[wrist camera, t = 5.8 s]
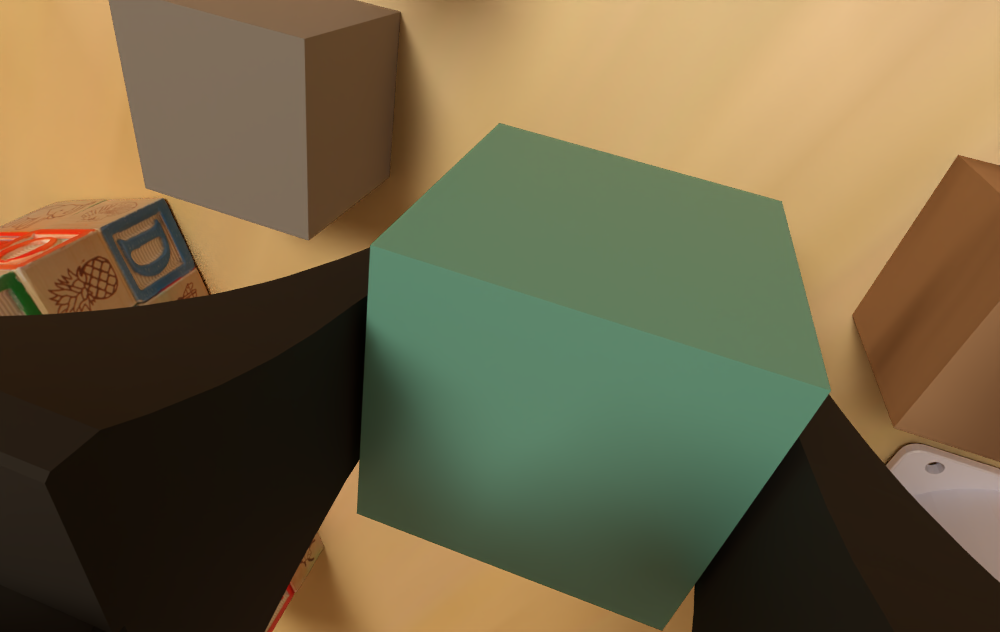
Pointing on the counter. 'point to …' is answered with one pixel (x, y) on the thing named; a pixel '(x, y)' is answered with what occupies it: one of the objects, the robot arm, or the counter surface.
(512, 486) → the muted green block
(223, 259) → the counter surface
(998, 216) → the walnut block
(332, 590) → the counter surface
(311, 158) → the gray block
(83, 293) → the stack of blocks
